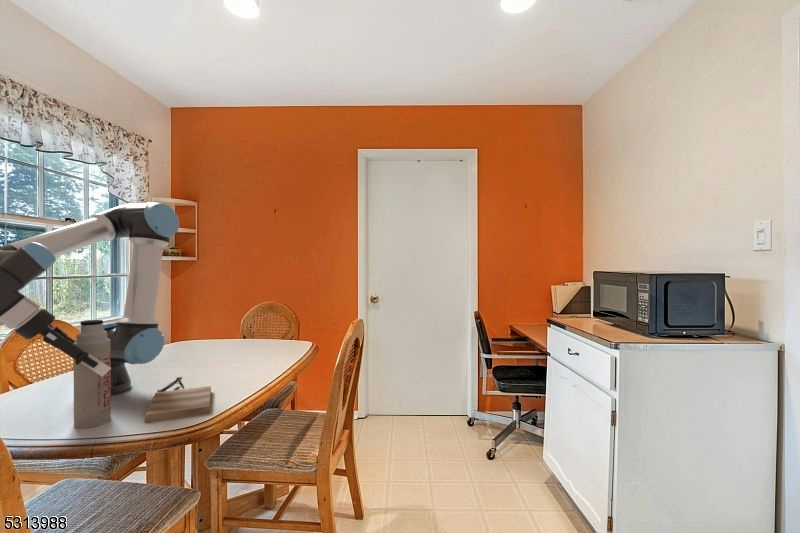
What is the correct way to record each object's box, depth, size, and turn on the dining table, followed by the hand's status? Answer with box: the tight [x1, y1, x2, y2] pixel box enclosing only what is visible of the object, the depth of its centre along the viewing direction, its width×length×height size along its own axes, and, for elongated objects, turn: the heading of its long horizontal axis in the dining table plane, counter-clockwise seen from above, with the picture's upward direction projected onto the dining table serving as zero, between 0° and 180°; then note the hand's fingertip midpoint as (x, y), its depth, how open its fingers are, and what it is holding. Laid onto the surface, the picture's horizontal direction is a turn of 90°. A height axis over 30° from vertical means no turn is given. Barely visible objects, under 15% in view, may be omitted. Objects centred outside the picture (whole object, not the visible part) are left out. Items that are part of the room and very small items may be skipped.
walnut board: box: [144, 385, 212, 423], centre depth 120 cm, size 20×16×2 cm
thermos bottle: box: [73, 319, 112, 429], centre depth 107 cm, size 8×8×28 cm
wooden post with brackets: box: [157, 376, 185, 392], centre depth 132 cm, size 2×8×4 cm, turn 144°
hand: (102, 367), depth 108 cm, fingers open, 13 cm apart
